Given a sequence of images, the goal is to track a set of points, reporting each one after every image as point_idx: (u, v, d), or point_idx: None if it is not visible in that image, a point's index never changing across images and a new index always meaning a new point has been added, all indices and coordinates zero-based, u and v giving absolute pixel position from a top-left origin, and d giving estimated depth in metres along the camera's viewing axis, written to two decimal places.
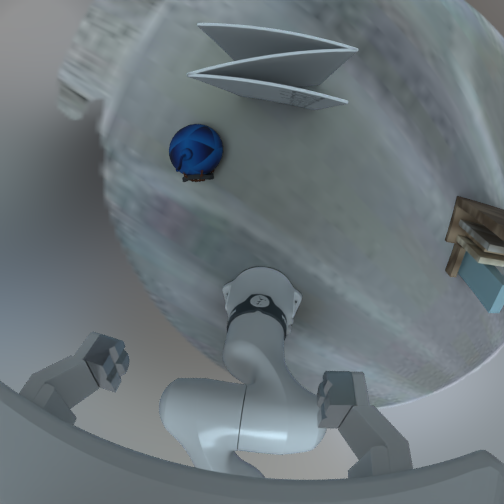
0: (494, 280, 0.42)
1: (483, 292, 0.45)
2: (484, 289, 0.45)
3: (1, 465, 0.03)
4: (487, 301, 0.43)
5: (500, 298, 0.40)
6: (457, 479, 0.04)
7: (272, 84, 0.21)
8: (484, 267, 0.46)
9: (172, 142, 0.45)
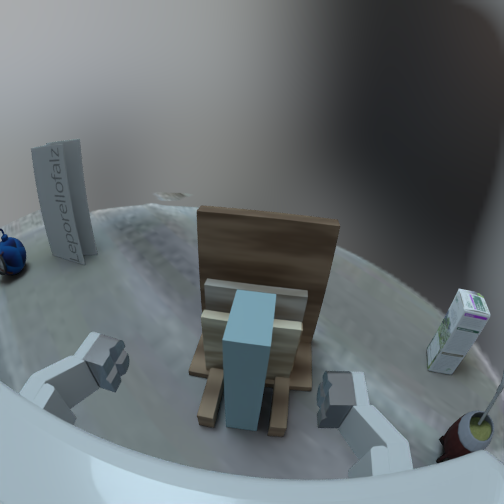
0: None
1: None
2: None
3: (1, 465, 0.03)
4: None
5: (248, 312, 0.26)
6: (457, 479, 0.04)
7: (47, 146, 0.47)
8: None
9: None
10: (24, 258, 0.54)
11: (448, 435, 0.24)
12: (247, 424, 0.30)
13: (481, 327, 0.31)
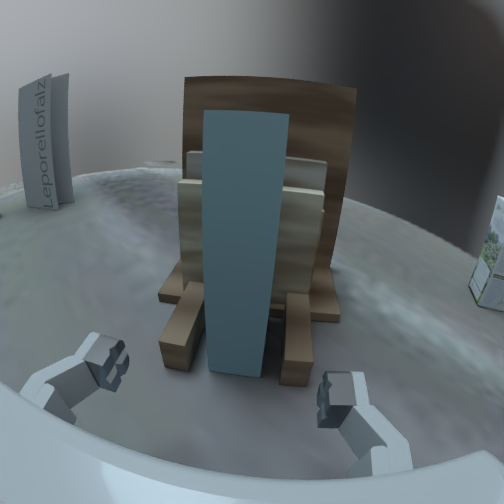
0: None
1: None
2: None
3: (1, 465, 0.03)
4: None
5: None
6: (457, 479, 0.04)
7: (34, 81, 0.37)
8: None
9: None
10: None
11: None
12: (244, 359, 0.19)
13: None
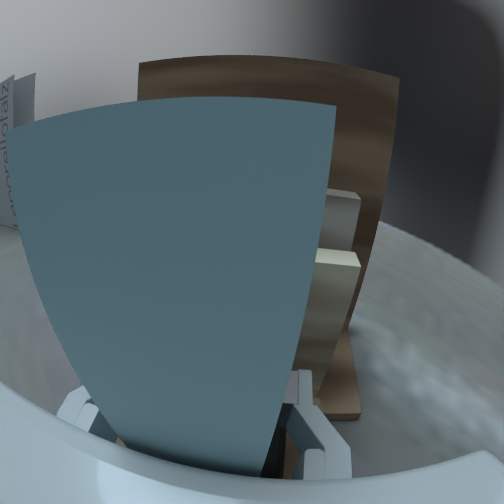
0: None
1: None
2: None
3: (1, 465, 0.03)
4: None
5: None
6: (457, 479, 0.04)
7: None
8: None
9: None
10: None
11: None
12: None
13: None
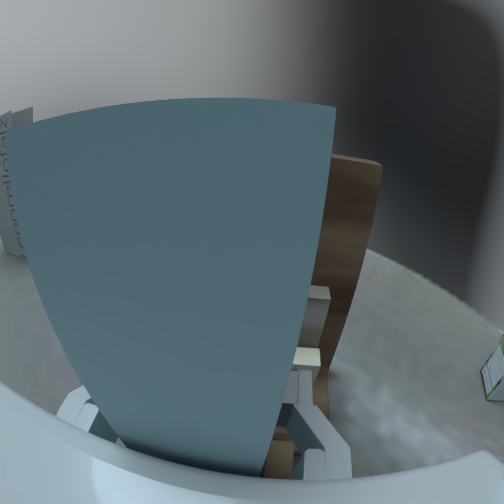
0: None
1: None
2: None
3: (1, 465, 0.03)
4: None
5: None
6: (457, 479, 0.04)
7: None
8: None
9: None
10: None
11: None
12: None
13: None
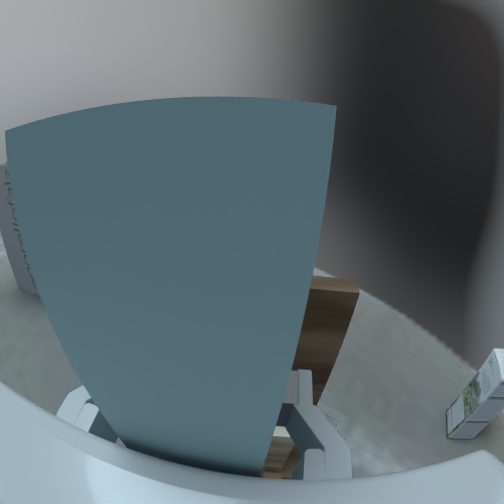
0: None
1: None
2: None
3: (1, 465, 0.03)
4: None
5: None
6: (457, 479, 0.04)
7: (1, 166, 0.35)
8: None
9: None
10: None
11: None
12: None
13: None
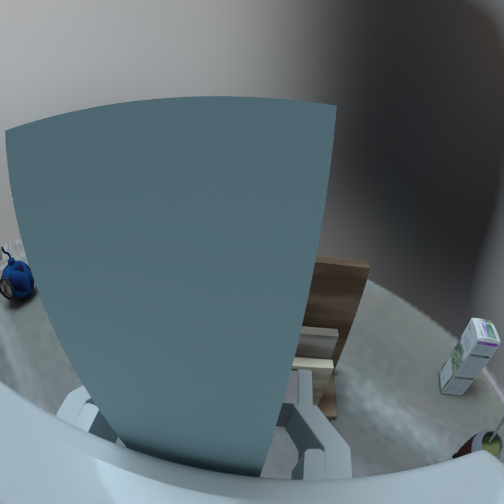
0: None
1: None
2: None
3: (1, 465, 0.03)
4: None
5: None
6: (457, 479, 0.04)
7: None
8: None
9: None
10: (32, 283, 0.54)
11: (462, 453, 0.23)
12: None
13: (491, 353, 0.31)
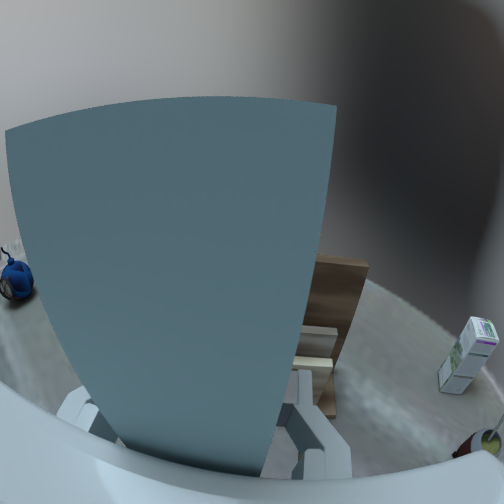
0: None
1: None
2: None
3: (1, 465, 0.03)
4: None
5: None
6: (457, 479, 0.04)
7: None
8: None
9: None
10: (32, 283, 0.54)
11: (461, 451, 0.23)
12: None
13: (490, 351, 0.31)
